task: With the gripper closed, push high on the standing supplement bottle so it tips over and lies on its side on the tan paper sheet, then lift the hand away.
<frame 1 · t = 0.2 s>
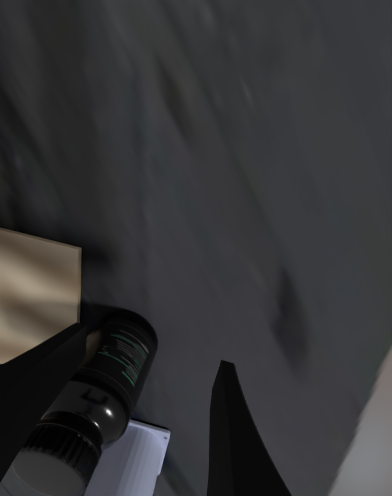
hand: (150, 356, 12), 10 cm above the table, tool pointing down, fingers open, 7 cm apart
supplement bottle: (129, 334, 25), on the table
tan paper sheet: (23, 308, 26), on the table
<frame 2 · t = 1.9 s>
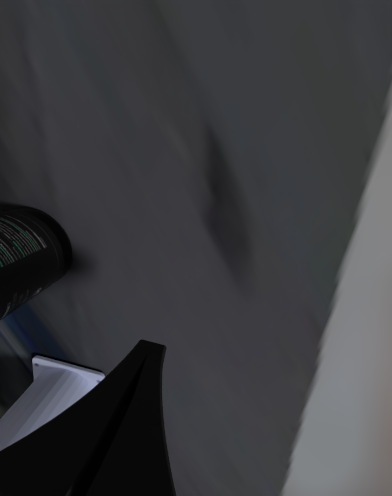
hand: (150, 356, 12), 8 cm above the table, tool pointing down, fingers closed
supplement bottle: (40, 244, 21), on the table
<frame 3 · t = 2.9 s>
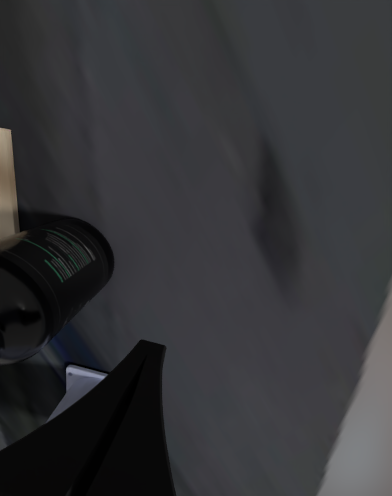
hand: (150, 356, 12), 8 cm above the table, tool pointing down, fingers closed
supplement bottle: (80, 254, 21), on the table
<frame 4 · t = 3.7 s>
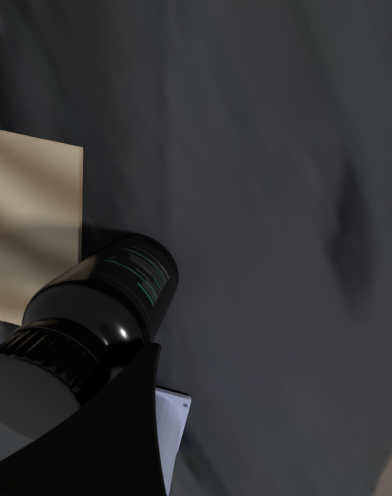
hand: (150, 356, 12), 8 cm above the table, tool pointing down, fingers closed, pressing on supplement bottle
supplement bottle: (142, 270, 20), on the table, touching gripper
tan paper sheet: (12, 240, 21), on the table
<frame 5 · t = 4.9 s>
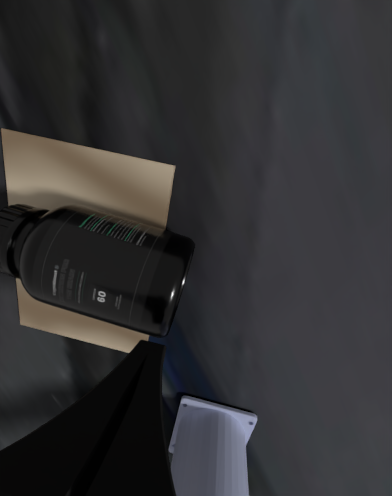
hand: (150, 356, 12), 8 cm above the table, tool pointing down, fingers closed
supplement bottle: (184, 289, 16), point 4 cm above the table, touching tan paper sheet
tan paper sheet: (86, 257, 20), on the table
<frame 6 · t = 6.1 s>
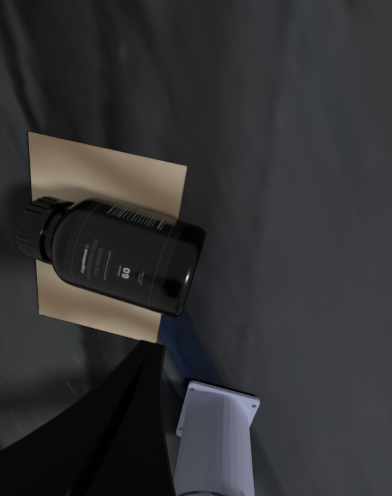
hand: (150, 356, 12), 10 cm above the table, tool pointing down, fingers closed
supplement bottle: (196, 274, 17), point 4 cm above the table, touching tan paper sheet
tan paper sheet: (103, 250, 22), on the table
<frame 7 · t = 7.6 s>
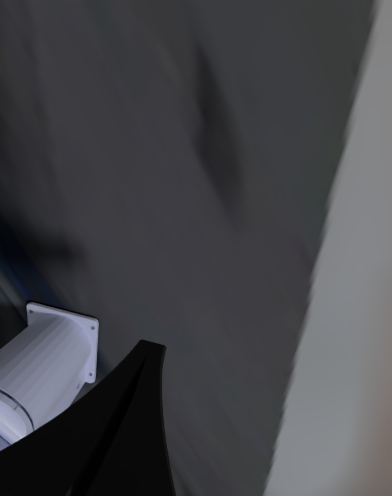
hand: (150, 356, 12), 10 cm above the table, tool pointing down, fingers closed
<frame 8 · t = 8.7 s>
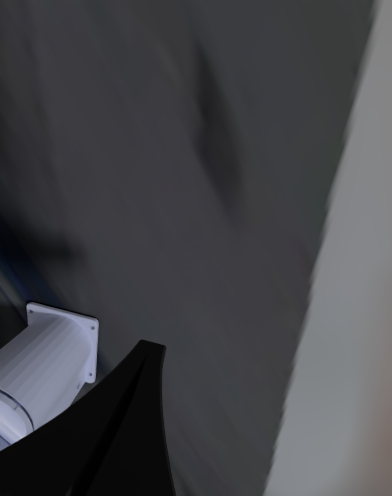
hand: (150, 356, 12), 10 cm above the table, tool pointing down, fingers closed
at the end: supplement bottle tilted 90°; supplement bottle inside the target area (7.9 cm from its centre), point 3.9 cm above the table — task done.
